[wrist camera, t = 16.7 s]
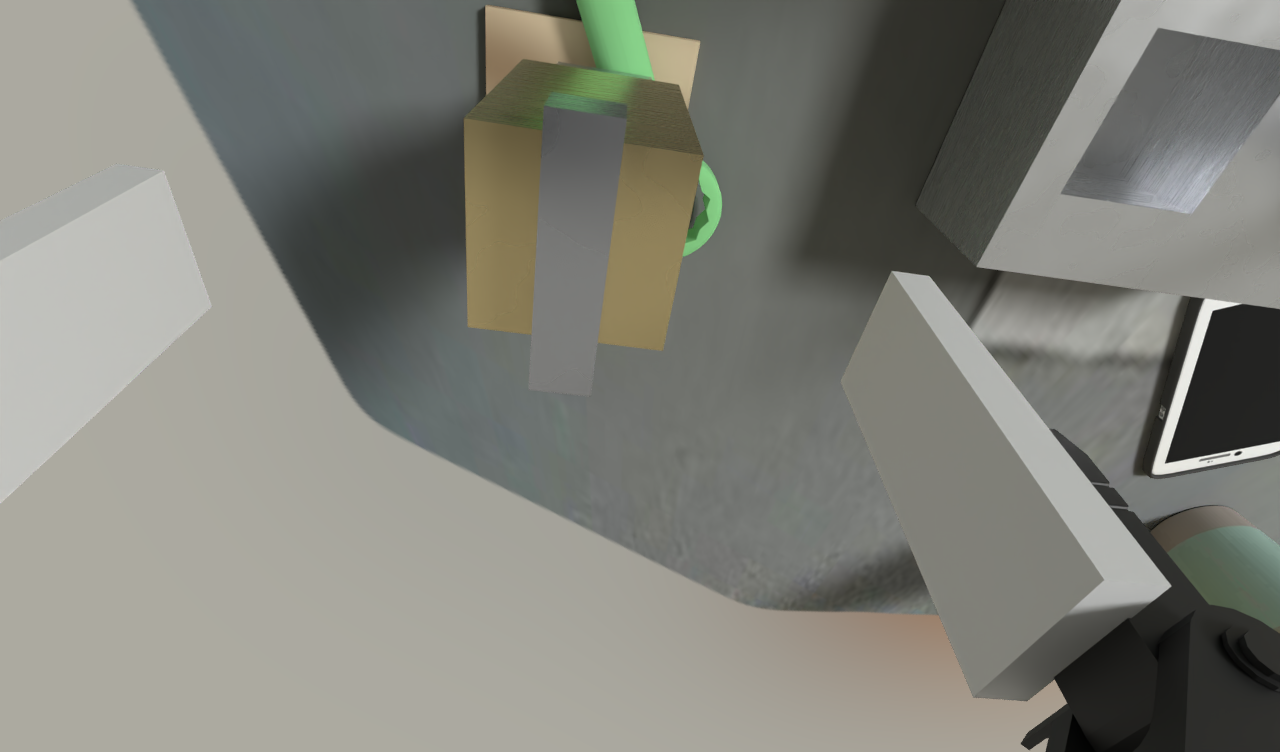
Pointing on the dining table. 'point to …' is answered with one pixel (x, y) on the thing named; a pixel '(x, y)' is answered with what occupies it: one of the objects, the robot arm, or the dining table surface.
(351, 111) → the dining table surface
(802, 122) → the dining table surface
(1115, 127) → the block
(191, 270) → the robot arm
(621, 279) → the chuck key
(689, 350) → the dining table surface
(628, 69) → the wrench
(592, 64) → the key mat
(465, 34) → the dining table surface
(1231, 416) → the cell phone
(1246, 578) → the coffee cup
